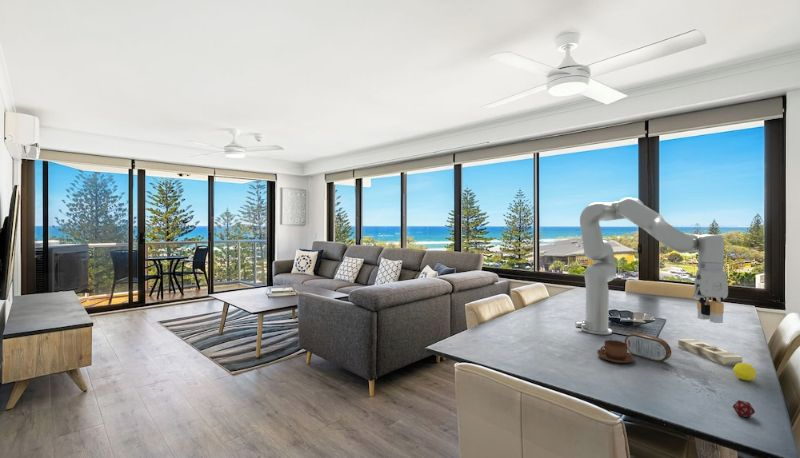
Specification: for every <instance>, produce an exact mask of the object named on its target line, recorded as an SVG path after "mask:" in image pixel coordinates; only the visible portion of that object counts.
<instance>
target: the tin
mask: <svg viewBox="0 0 800 458" xmlns="http://www.w3.org/2000/svg"><path fill="white" fill-rule="evenodd" d="M624 343H626V344H627V352H629V354H631V355H633V356H637V357H640V358H644V359H647V360H651V361H654V362H659V363H660V362H665V361H667V360H669V359H670V357H671V356H672V349H671V347H670V345H669V344H668V342H667V341H666V340H664V339H662V338H659V337H655V336H653V335H647V334H643V333H639V332H632V333H630V334H628V335H627V336H626V337H625V339H624Z"/></svg>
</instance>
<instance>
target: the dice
mask: <svg viewBox="0 0 800 458" xmlns="http://www.w3.org/2000/svg"><path fill="white" fill-rule="evenodd" d="M732 408H733V409H734V411H735V412H736V414H737V415H738V417H739V416H740V417H744V418H748V419H749V418H750V417H751V416H752V415H754V414H755V413H756V411H755V409H754V408H753V405H751V402H749V401H744V400H740V399H739V400H737V402H735V403H734V404H733V405H732Z"/></svg>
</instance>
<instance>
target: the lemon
mask: <svg viewBox="0 0 800 458" xmlns="http://www.w3.org/2000/svg"><path fill="white" fill-rule="evenodd" d="M733 366H734V367H733V373H734V374H735V376H736V377H737V378H739V379H740V380H741V381H742V380H743V381H752V380H755V377H756V376H757V375H756V374H757V371H756V369H755V367H753V365H751V364H749V363H747V362H742V363H738V364H736V365H733Z"/></svg>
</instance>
